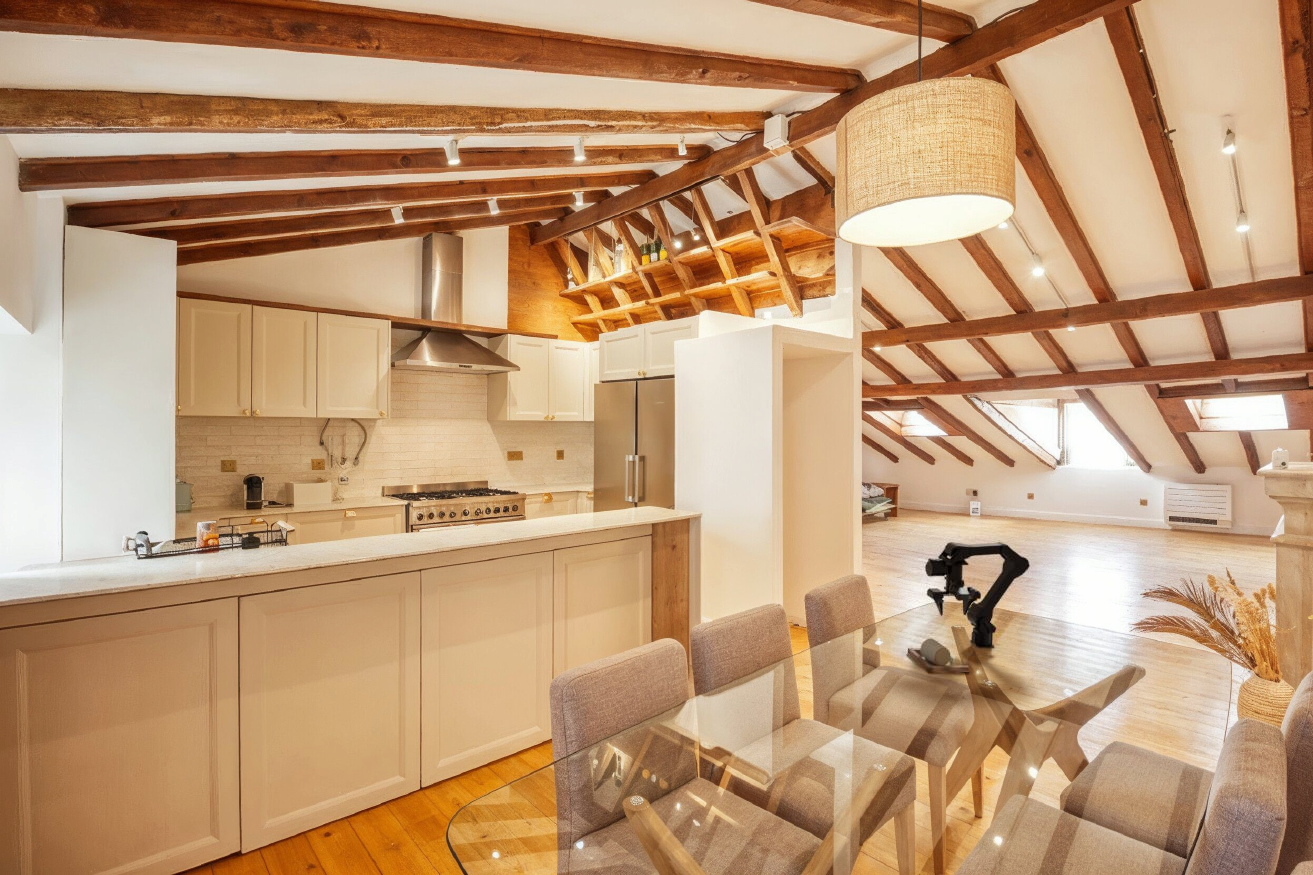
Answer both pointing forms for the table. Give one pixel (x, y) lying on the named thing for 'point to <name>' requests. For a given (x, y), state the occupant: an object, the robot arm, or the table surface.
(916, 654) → the walnut corral
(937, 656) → the ceramic mug
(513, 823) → the table surface
